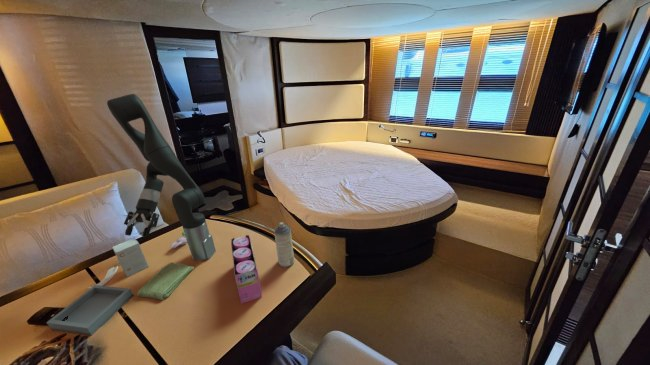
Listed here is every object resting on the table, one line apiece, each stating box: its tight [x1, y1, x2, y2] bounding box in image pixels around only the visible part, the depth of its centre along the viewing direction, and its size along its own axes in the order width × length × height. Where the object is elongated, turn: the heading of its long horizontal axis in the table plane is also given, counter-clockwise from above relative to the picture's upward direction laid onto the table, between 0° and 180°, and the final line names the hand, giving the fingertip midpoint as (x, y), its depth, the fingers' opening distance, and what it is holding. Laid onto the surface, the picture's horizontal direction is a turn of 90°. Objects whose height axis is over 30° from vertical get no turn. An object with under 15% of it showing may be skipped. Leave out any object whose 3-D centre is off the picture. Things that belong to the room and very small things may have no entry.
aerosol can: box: [273, 221, 295, 268], centre depth 104 cm, size 7×7×20 cm
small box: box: [111, 237, 150, 278], centre depth 105 cm, size 8×6×13 cm
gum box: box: [230, 234, 263, 305], centre depth 98 cm, size 24×8×14 cm, turn 22°
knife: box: [88, 265, 119, 290], centre depth 103 cm, size 30×2×8 cm
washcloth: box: [136, 262, 195, 301], centre depth 100 cm, size 13×18×3 cm
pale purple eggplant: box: [170, 231, 188, 249], centre depth 123 cm, size 6×6×15 cm
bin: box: [46, 284, 134, 336], centre depth 88 cm, size 16×16×4 cm
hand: (136, 235), depth 108 cm, fingers open, 8 cm apart
